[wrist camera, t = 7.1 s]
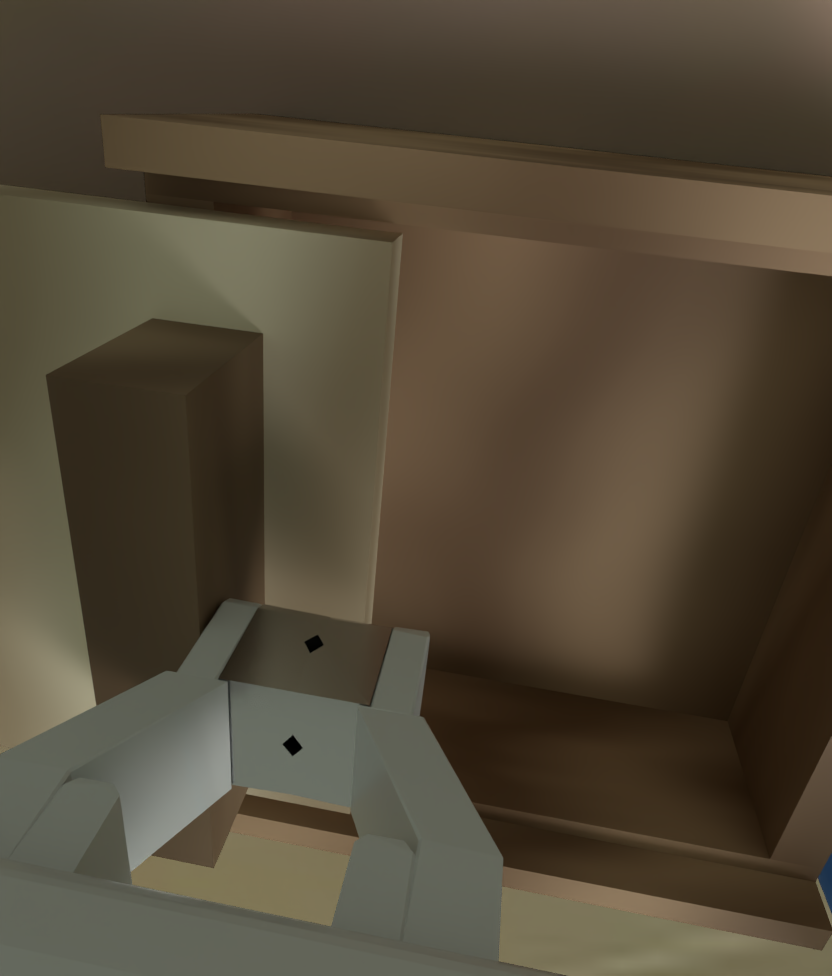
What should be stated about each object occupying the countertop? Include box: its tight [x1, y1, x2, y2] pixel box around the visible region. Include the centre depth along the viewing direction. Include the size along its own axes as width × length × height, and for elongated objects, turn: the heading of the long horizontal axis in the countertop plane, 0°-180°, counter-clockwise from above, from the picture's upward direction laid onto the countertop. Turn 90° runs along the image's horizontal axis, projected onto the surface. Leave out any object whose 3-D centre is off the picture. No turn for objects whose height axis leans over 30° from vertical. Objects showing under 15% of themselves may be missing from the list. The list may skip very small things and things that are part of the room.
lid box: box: [100, 114, 832, 950], centre depth 14 cm, size 13×13×6 cm
